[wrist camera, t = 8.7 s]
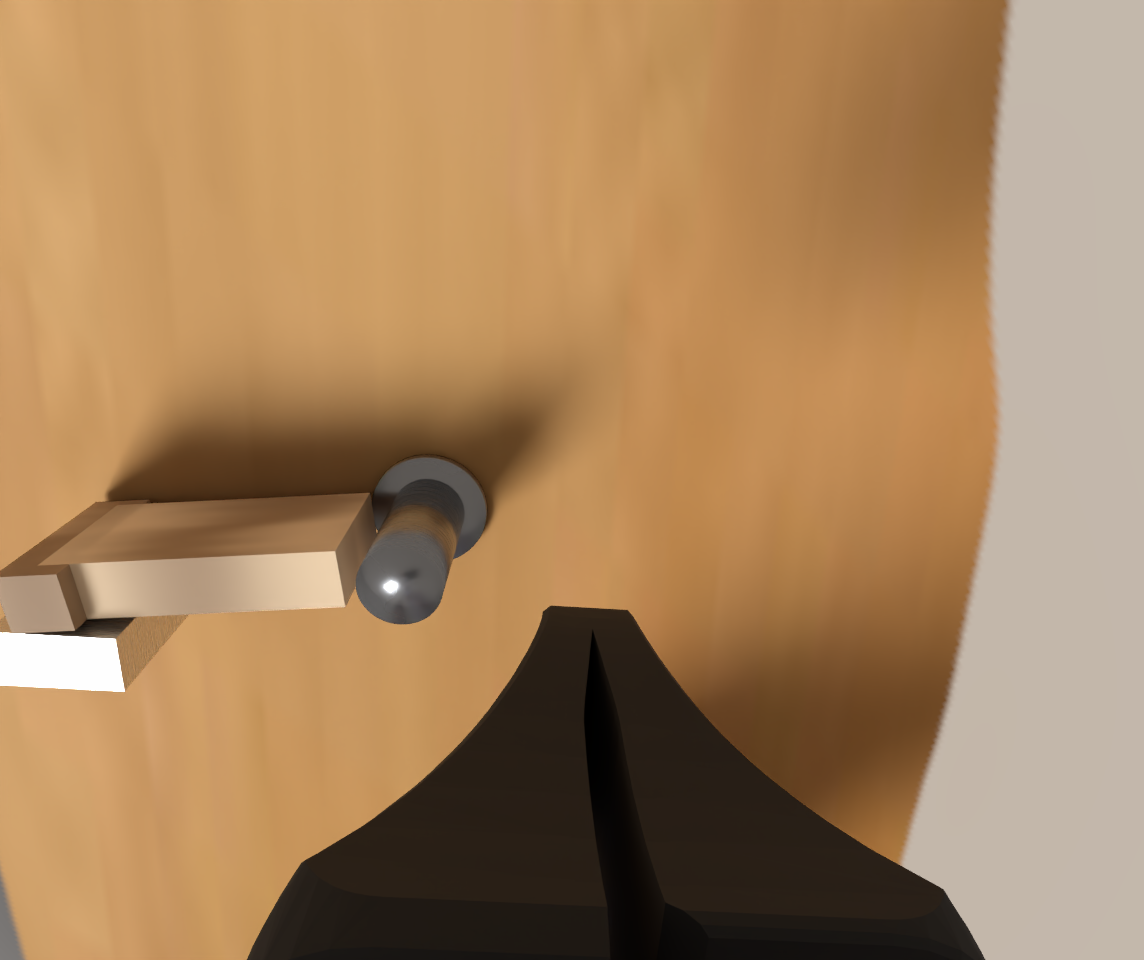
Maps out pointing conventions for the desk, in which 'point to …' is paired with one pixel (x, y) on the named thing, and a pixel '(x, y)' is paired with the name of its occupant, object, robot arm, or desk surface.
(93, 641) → the white-faced wooden block
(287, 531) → the light wooden bar
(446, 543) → the pivot post
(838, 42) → the desk surface
